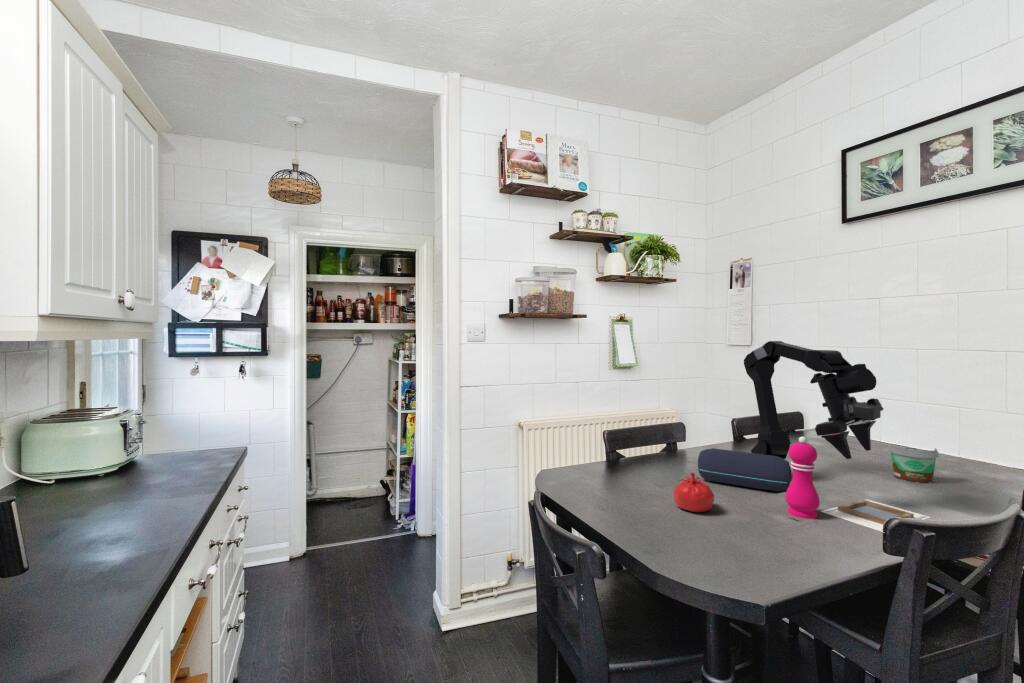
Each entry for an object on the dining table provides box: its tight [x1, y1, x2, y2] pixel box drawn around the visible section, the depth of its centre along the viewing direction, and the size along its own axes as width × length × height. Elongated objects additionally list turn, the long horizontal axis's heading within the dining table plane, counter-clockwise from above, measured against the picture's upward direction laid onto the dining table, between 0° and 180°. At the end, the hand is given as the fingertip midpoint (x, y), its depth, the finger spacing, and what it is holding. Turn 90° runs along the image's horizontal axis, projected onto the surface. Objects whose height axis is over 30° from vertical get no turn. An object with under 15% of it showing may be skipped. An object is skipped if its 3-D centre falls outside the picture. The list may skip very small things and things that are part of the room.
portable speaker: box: [697, 447, 792, 493], centre depth 142 cm, size 25×10×10 cm, turn 56°
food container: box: [888, 444, 940, 484], centre depth 146 cm, size 12×6×10 cm, turn 68°
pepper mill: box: [784, 436, 821, 522], centre depth 117 cm, size 7×7×20 cm
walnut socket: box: [837, 499, 914, 525], centre depth 117 cm, size 11×11×1 cm
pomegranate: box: [672, 471, 715, 513], centre depth 123 cm, size 10×10×9 cm
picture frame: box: [820, 498, 932, 533], centre depth 117 cm, size 20×14×1 cm
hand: (858, 454), depth 124 cm, fingers open, 9 cm apart
